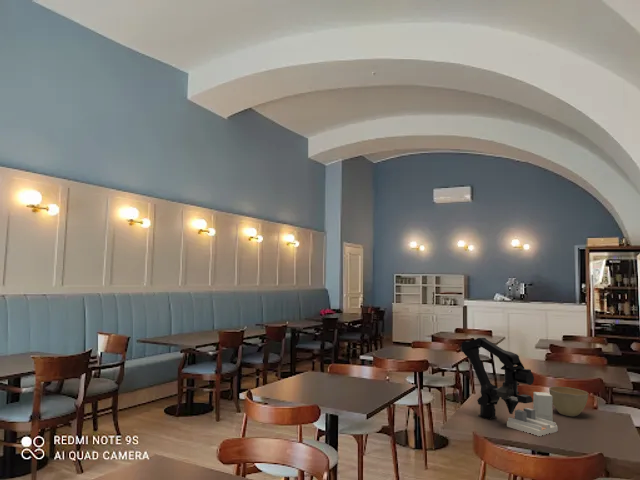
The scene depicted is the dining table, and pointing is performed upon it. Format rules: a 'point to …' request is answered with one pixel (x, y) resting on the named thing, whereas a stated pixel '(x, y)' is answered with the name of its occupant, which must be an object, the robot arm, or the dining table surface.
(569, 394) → the olive green bowl
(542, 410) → the supplement box
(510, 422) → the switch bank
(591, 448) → the dining table surface
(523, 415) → the switch tab
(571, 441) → the dining table surface
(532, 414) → the switch tab
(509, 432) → the dining table surface
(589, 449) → the dining table surface
